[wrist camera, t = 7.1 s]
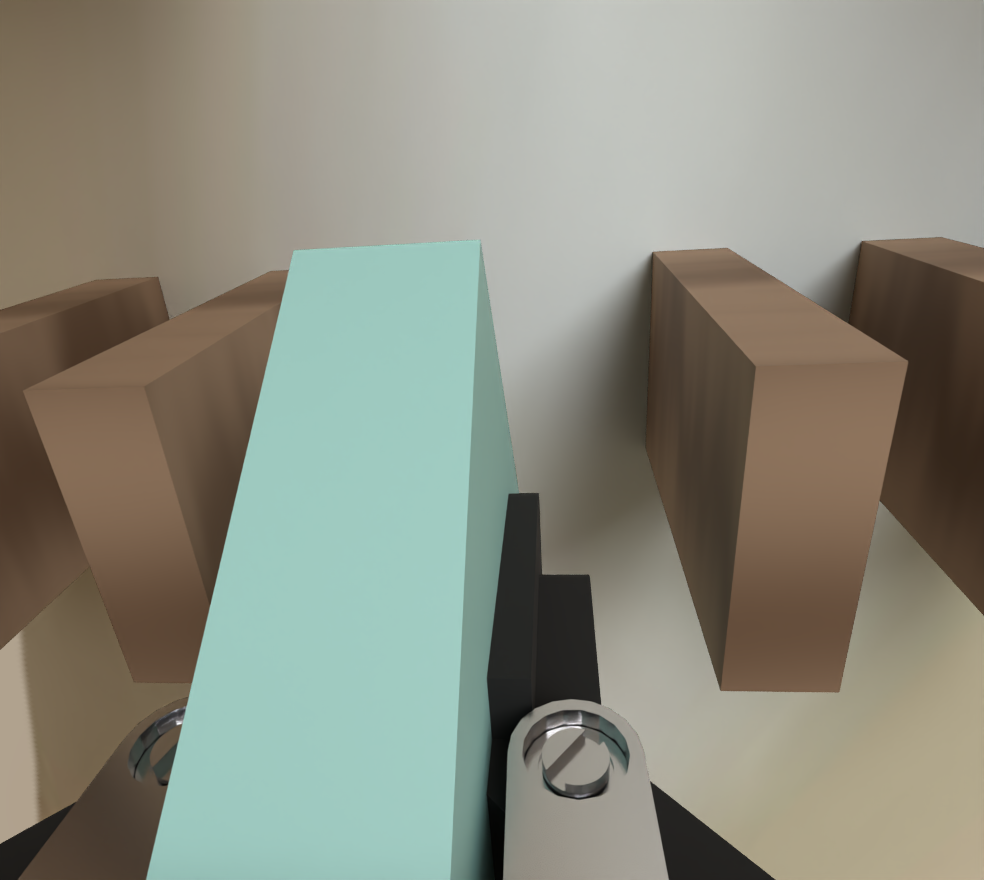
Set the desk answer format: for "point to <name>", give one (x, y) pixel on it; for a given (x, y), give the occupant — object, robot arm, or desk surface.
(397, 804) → the teal domino
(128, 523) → the domino
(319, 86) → the desk surface
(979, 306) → the domino
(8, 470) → the domino
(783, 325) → the domino
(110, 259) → the desk surface
